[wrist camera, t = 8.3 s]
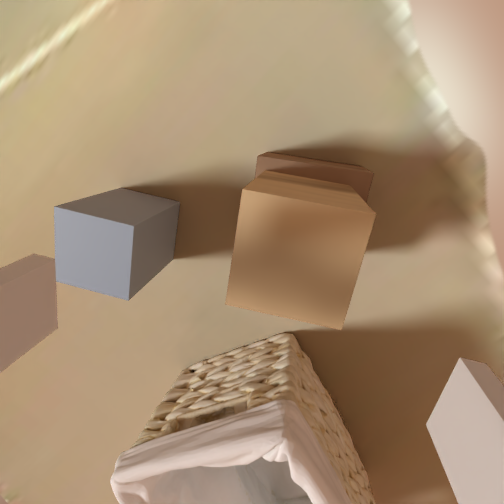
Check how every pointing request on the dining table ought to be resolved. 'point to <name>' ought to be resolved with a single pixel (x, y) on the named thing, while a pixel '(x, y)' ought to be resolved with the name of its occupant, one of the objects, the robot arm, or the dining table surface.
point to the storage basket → (245, 436)
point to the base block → (317, 170)
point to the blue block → (114, 241)
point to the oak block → (298, 248)
